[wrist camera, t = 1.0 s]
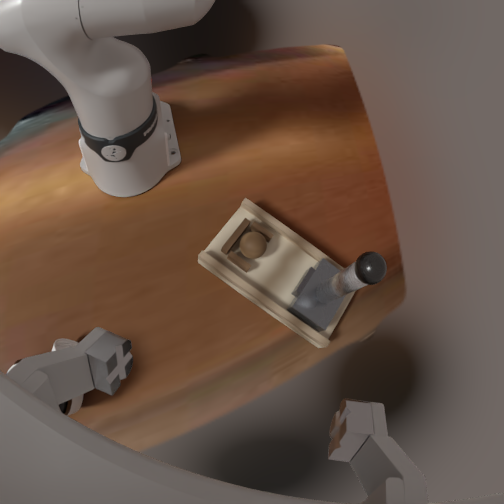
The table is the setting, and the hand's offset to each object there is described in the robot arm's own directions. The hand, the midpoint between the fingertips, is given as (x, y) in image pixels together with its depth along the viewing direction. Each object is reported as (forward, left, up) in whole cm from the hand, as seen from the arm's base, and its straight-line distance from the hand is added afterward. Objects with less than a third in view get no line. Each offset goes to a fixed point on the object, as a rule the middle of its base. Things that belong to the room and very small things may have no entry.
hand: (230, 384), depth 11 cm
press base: (-12, +13, -36) cm, 40 cm away
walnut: (-16, +8, -32) cm, 37 cm away
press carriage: (-9, +17, -34) cm, 39 cm away
